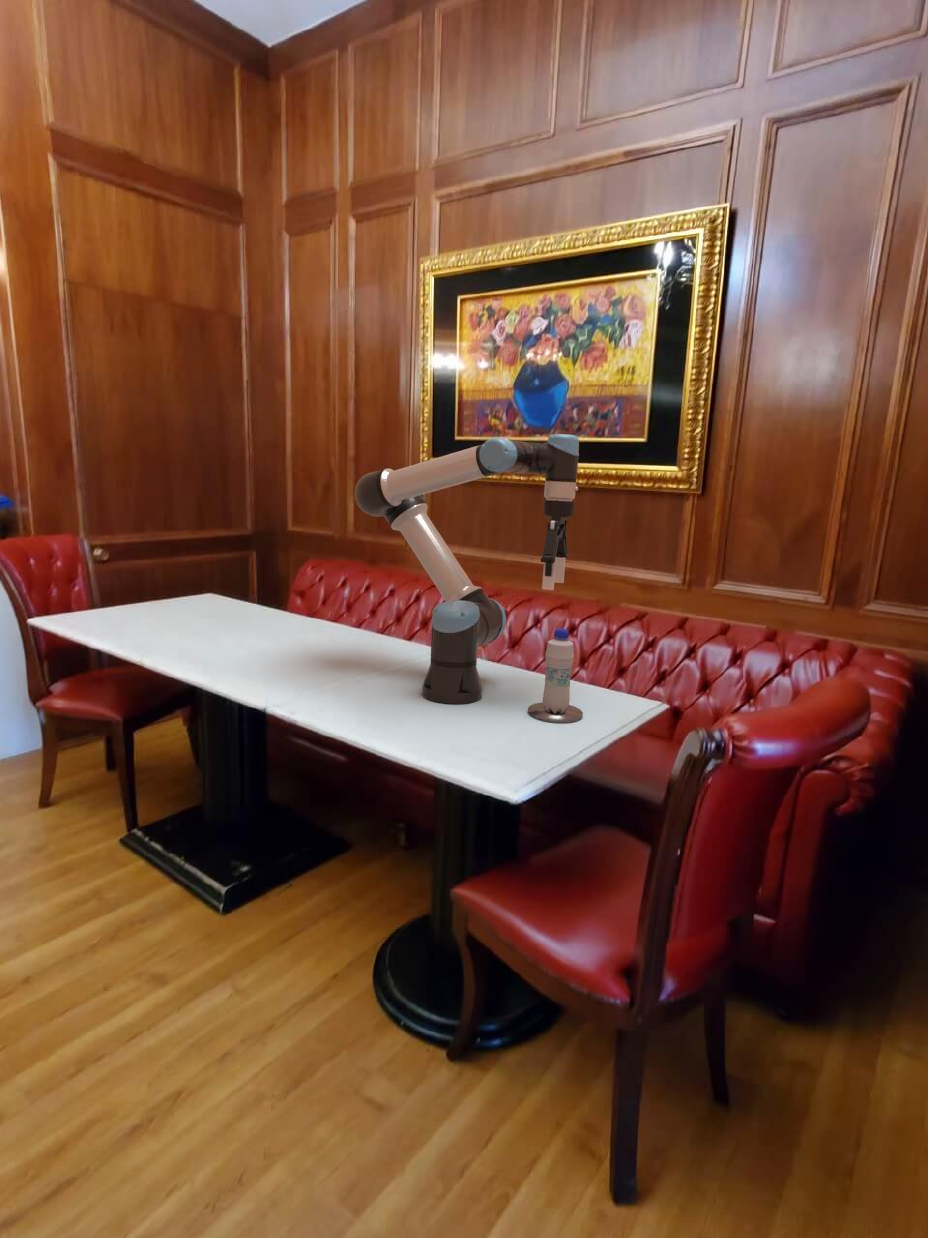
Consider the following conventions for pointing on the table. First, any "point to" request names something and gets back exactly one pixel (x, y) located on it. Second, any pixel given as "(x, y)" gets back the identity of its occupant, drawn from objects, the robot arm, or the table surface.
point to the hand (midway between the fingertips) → (553, 586)
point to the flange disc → (555, 714)
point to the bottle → (558, 672)
